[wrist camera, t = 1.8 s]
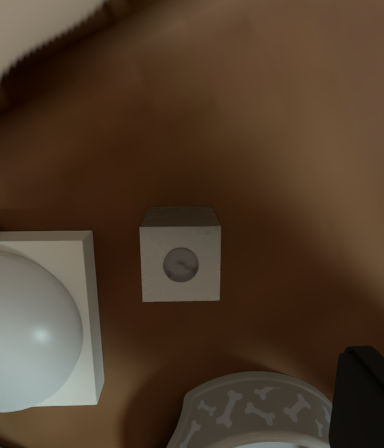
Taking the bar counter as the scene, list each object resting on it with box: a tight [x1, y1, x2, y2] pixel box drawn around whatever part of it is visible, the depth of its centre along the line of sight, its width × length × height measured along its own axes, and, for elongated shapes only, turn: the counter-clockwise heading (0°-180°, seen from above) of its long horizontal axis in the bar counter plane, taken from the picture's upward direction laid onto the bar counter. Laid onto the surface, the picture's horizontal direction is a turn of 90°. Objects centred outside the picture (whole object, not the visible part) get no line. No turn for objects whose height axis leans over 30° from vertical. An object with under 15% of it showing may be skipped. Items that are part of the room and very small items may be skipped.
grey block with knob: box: [139, 206, 221, 302], centre depth 21 cm, size 4×4×6 cm
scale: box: [0, 231, 104, 412], centre depth 23 cm, size 13×14×4 cm
